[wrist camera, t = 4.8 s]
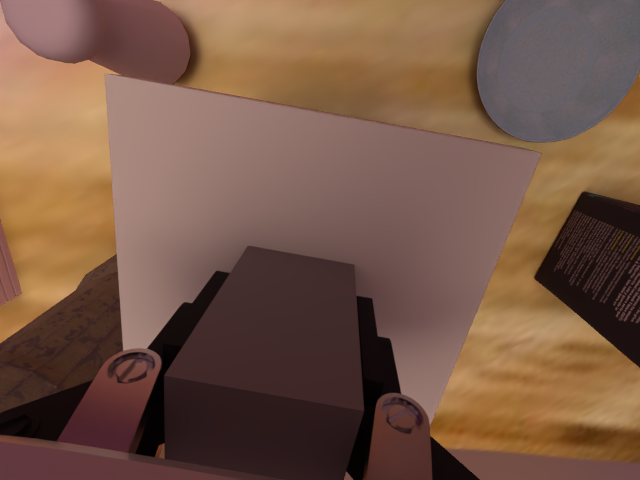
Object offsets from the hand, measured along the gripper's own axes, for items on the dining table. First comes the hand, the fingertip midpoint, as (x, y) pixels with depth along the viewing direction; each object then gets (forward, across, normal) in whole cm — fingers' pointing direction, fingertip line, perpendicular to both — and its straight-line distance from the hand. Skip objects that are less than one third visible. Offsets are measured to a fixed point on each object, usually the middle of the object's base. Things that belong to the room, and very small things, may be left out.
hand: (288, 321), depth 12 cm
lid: (+3, 0, 0) cm, 3 cm away
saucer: (+22, -16, -13) cm, 30 cm away
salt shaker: (+21, +14, -9) cm, 27 cm away
